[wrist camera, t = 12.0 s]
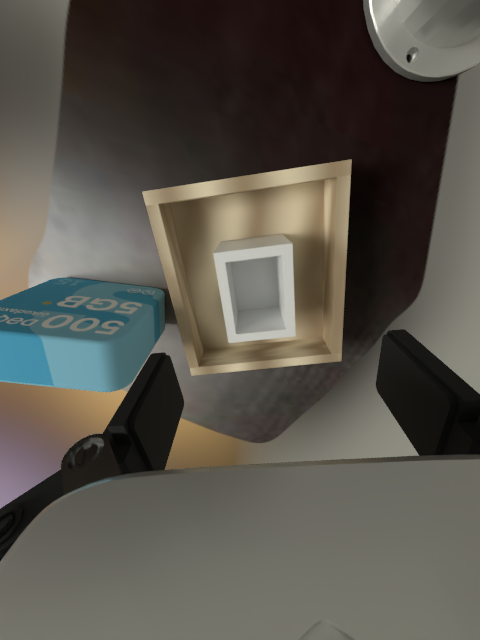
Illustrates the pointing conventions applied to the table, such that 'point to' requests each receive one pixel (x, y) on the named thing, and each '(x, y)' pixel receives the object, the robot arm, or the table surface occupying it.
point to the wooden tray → (246, 222)
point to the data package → (79, 333)
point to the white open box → (256, 287)
